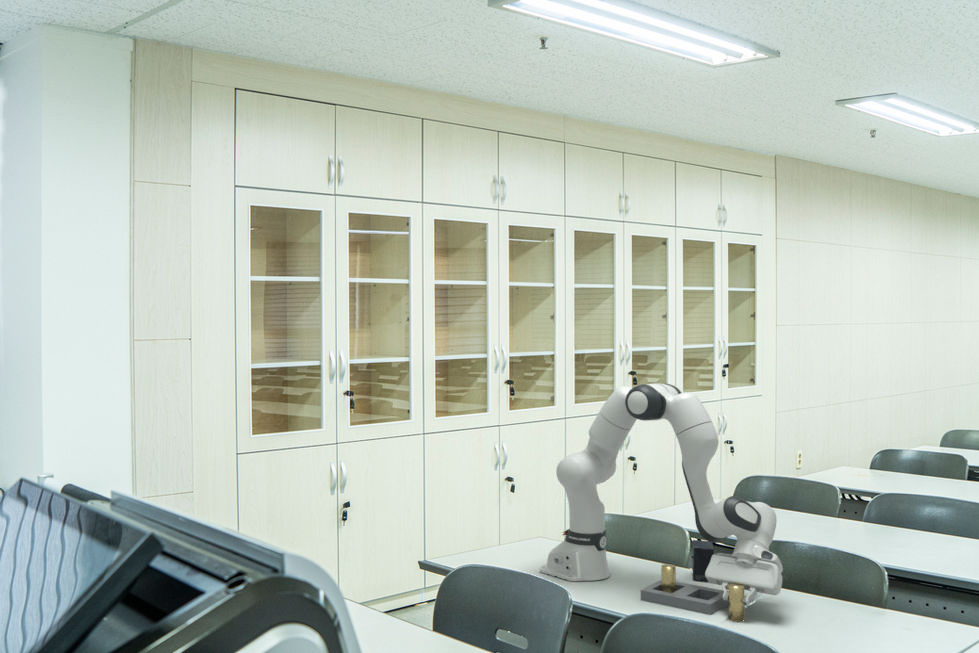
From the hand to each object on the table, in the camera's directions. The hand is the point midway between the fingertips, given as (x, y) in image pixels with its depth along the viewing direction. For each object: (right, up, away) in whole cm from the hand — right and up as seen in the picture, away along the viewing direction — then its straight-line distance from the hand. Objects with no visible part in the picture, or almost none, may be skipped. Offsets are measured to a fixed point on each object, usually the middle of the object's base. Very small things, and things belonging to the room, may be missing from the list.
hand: (735, 601), depth 229 cm
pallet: (-10, -5, +14) cm, 18 cm away
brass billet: (0, -5, 0) cm, 5 cm away
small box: (+1, -6, +40) cm, 41 cm away
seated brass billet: (-14, -4, +17) cm, 23 cm away
